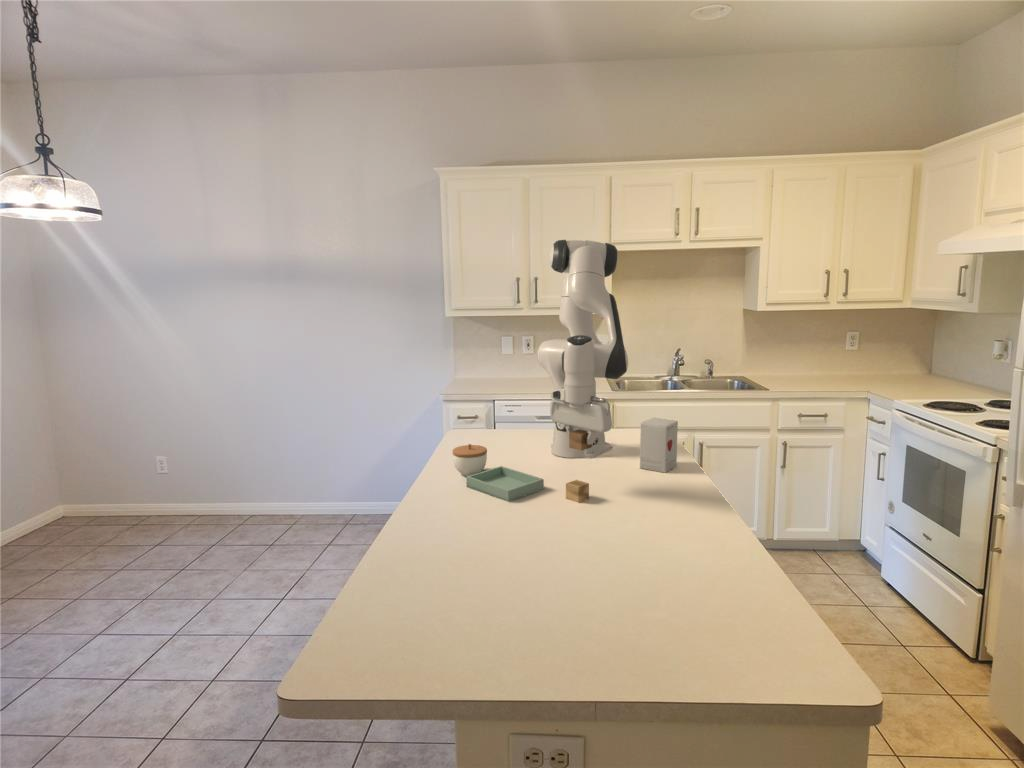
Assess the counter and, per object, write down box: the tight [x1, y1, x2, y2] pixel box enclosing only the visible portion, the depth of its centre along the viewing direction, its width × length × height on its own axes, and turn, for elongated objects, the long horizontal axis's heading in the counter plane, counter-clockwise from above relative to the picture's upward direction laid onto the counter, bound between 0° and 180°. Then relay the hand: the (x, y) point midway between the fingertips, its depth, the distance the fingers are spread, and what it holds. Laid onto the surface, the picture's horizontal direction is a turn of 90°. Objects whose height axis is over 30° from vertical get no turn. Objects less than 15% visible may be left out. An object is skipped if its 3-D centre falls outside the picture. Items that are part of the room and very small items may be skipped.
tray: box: [465, 465, 545, 503], centre depth 189 cm, size 14×18×3 cm
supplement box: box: [639, 417, 679, 474], centre depth 205 cm, size 9×9×15 cm
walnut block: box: [569, 429, 592, 451], centre depth 184 cm, size 4×4×4 cm
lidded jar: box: [452, 443, 488, 477], centre depth 203 cm, size 11×11×9 cm
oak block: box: [565, 479, 590, 504], centre depth 179 cm, size 4×4×4 cm
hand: (580, 441), depth 184 cm, fingers closed on walnut block, 4 cm apart
